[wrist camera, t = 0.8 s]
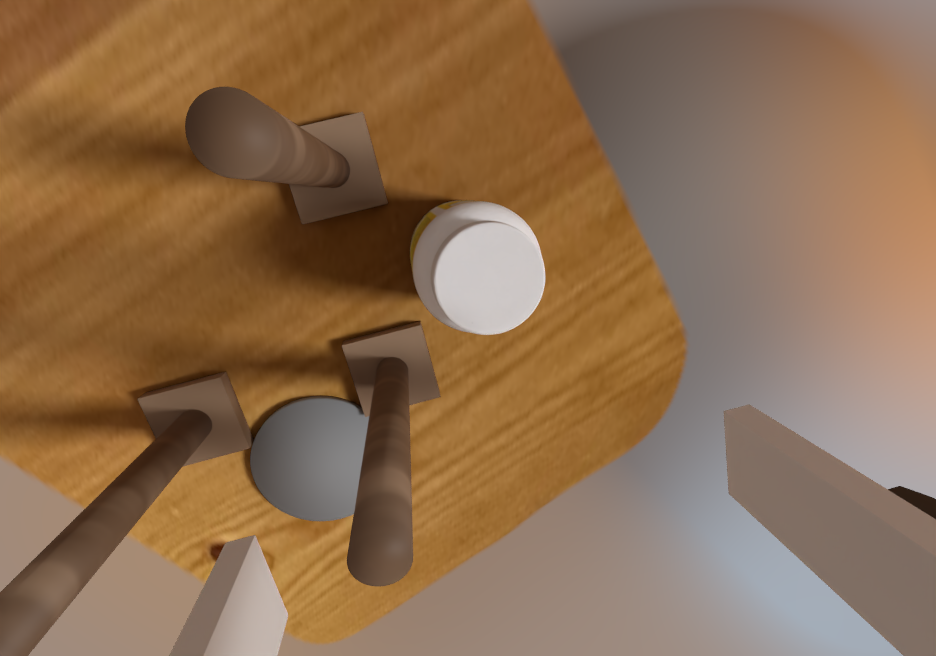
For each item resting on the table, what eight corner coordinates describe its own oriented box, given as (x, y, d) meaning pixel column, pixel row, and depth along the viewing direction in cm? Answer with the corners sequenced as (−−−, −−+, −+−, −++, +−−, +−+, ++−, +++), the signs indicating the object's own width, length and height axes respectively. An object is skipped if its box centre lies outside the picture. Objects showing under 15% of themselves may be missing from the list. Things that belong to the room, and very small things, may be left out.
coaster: (232, 416, 31) (229, 420, 31) (369, 380, 32) (368, 383, 31) (279, 530, 34) (277, 536, 33) (405, 495, 34) (405, 500, 34)
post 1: (145, 392, 30) (-179, 640, 13) (226, 371, 30) (7, 588, 14) (177, 461, 31) (-79, 763, 15) (254, 440, 32) (87, 714, 15)
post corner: (343, 340, 31) (272, 514, 14) (420, 321, 31) (439, 468, 14) (366, 410, 32) (325, 643, 15) (439, 390, 32) (476, 599, 16)
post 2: (276, 135, 27) (73, 39, 10) (364, 114, 28) (301, -10, 11) (305, 223, 29) (167, 263, 12) (388, 203, 29) (366, 215, 12)
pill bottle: (445, 318, 31) (467, 381, 21) (389, 237, 30) (381, 260, 19) (526, 264, 31) (589, 300, 20) (474, 179, 29) (514, 170, 19)
